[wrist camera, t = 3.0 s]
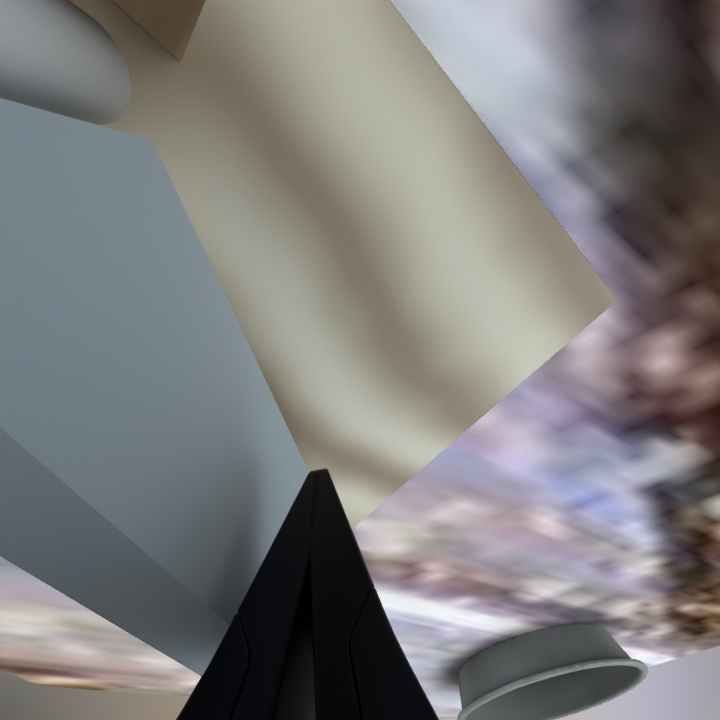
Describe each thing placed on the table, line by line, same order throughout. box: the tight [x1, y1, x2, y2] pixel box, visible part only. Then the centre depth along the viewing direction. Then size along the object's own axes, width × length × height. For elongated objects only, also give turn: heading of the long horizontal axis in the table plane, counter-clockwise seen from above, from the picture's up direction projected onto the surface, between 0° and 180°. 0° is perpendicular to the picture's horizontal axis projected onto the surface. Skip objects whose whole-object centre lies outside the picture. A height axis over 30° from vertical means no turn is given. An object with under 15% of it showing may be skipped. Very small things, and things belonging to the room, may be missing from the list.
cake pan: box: [458, 624, 648, 720], centre depth 40 cm, size 25×25×4 cm
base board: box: [70, 0, 617, 529], centre depth 13 cm, size 26×24×1 cm
